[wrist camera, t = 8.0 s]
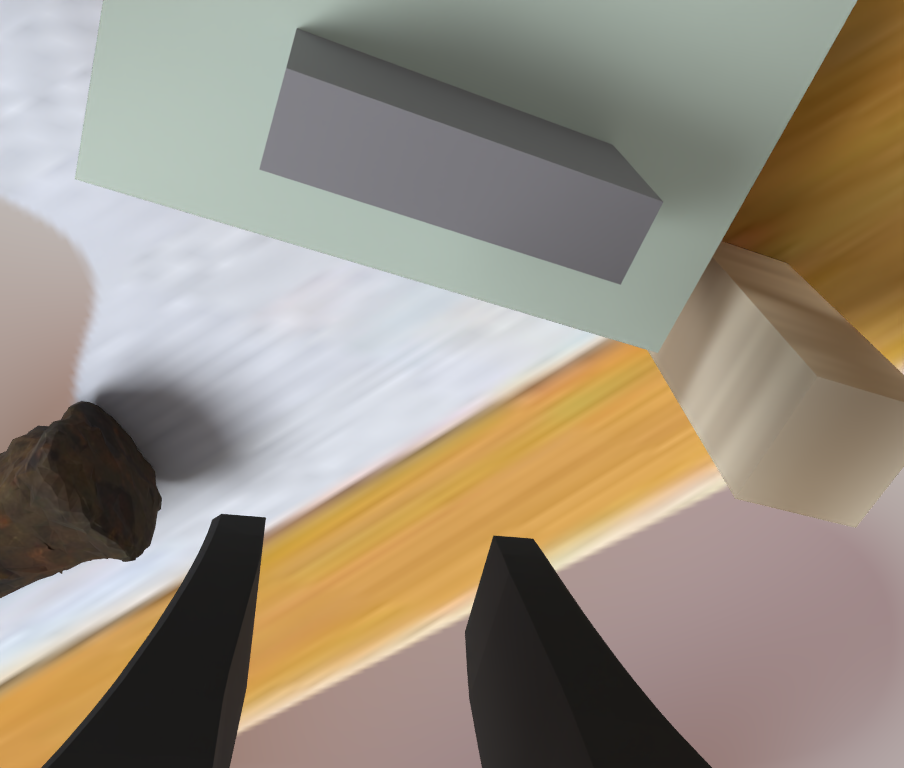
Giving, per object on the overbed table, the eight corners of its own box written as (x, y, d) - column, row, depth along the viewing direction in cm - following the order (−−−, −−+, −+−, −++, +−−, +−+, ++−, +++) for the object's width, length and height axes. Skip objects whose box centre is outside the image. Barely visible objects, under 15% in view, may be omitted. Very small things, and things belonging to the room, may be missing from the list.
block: (635, 329, 23) (735, 498, 17) (688, 230, 21) (817, 376, 16) (730, 358, 24) (855, 528, 18) (787, 263, 22) (944, 414, 16)
